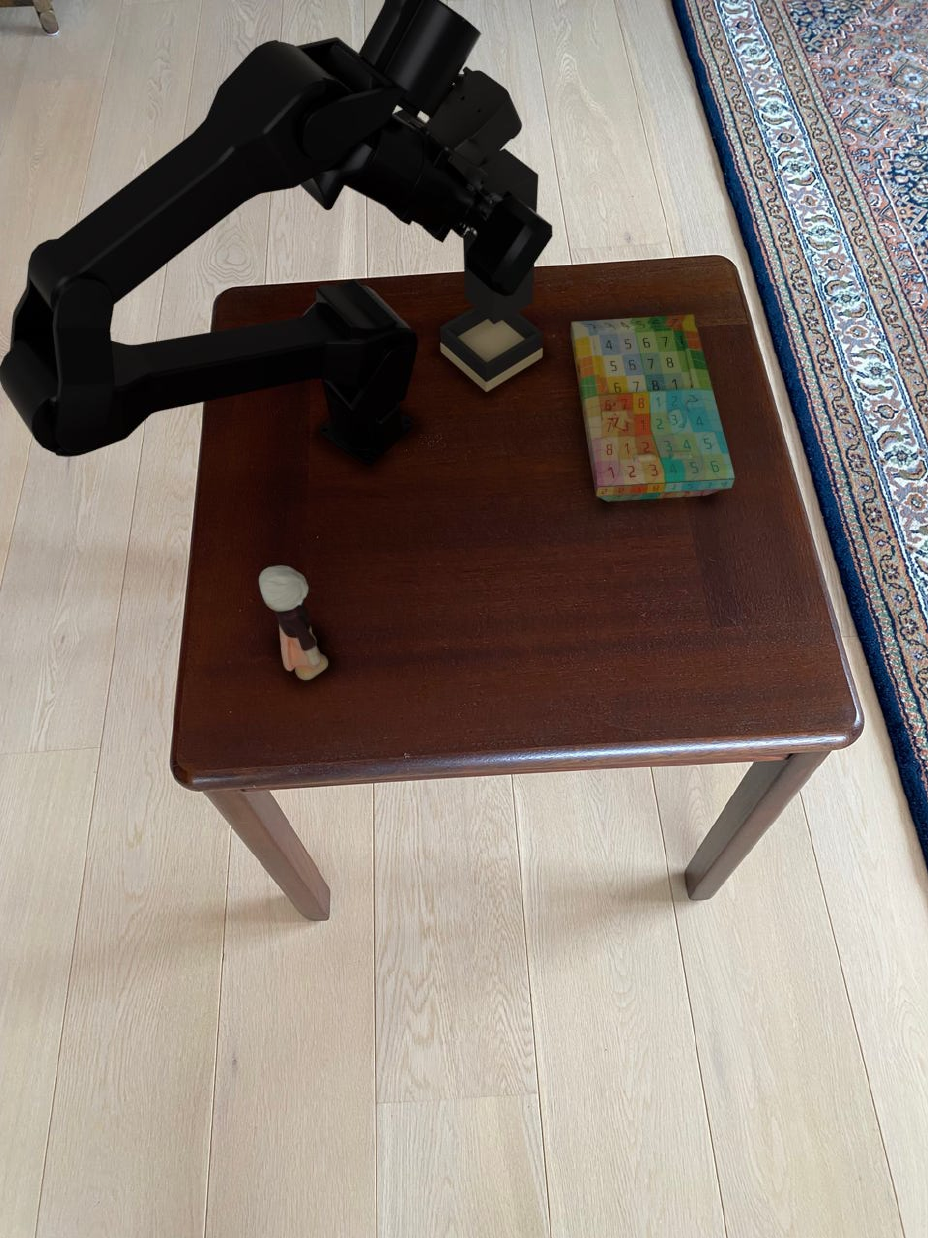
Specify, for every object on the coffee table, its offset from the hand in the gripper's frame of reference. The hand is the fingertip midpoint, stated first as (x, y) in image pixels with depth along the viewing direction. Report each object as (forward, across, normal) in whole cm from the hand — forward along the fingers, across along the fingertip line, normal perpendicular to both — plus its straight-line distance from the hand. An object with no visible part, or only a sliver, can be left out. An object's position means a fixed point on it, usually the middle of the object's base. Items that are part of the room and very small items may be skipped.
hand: (511, 233), depth 80 cm
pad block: (+4, 0, +6) cm, 7 cm away
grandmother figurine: (-14, -18, +34) cm, 41 cm away
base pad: (+8, +1, +11) cm, 14 cm away
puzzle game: (+13, -15, +7) cm, 21 cm away
